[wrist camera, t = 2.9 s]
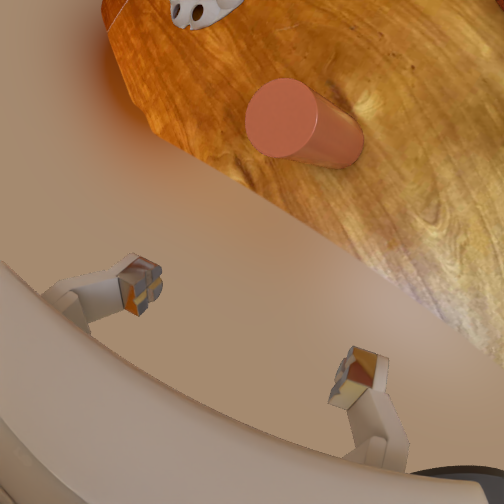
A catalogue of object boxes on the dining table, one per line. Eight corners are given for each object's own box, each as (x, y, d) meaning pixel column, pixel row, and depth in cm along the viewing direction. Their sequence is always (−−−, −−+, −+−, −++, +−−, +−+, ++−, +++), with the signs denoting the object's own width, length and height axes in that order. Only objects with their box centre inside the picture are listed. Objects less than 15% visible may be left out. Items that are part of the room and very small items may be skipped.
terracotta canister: (359, 173, 25) (311, 162, 17) (305, 164, 28) (240, 154, 21) (367, 114, 24) (321, 76, 16) (312, 110, 27) (249, 80, 19)
